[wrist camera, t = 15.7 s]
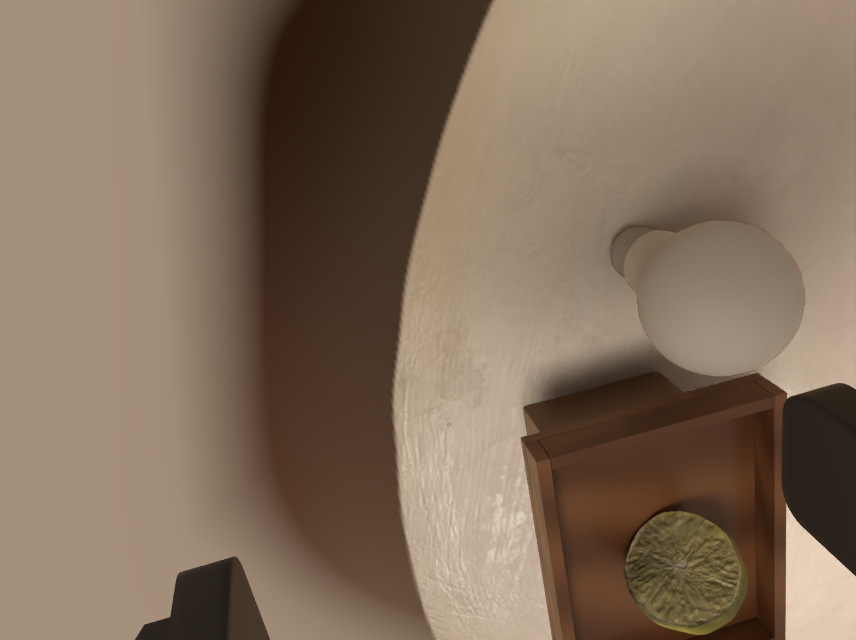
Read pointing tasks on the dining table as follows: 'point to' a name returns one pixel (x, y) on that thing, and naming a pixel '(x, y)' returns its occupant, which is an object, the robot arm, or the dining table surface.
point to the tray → (655, 496)
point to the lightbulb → (713, 294)
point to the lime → (686, 573)
